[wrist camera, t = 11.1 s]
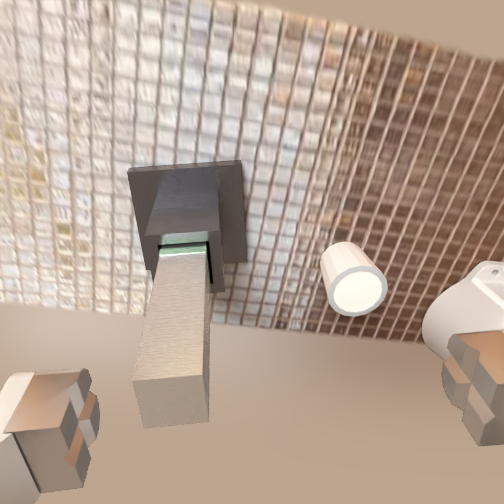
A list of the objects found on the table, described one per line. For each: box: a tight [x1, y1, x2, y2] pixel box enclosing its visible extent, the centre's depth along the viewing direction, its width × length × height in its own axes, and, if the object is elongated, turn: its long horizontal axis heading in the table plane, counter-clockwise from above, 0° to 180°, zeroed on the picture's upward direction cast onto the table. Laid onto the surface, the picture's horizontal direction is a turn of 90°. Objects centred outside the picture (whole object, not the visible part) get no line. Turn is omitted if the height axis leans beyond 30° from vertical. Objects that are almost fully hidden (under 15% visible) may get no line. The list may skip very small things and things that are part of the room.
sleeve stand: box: [127, 160, 247, 293], centre depth 45 cm, size 12×12×12 cm
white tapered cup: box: [320, 242, 388, 317], centre depth 52 cm, size 7×7×7 cm
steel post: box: [132, 241, 211, 428], centre depth 34 cm, size 4×4×18 cm
